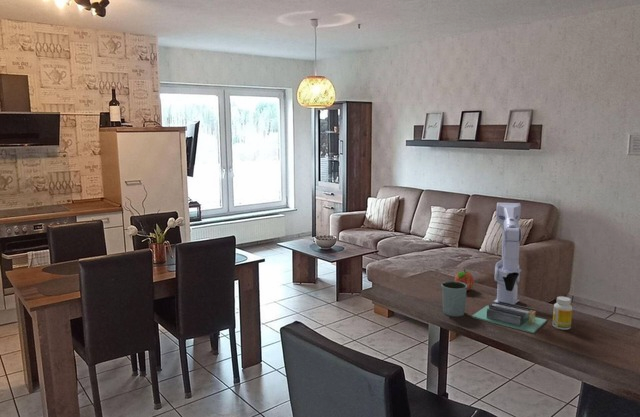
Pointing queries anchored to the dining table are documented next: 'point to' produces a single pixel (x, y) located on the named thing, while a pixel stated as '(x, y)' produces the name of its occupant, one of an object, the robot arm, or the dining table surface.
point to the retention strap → (510, 309)
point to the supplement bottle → (562, 313)
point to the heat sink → (510, 314)
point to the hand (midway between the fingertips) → (509, 290)
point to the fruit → (465, 278)
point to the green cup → (454, 298)
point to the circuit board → (525, 327)
